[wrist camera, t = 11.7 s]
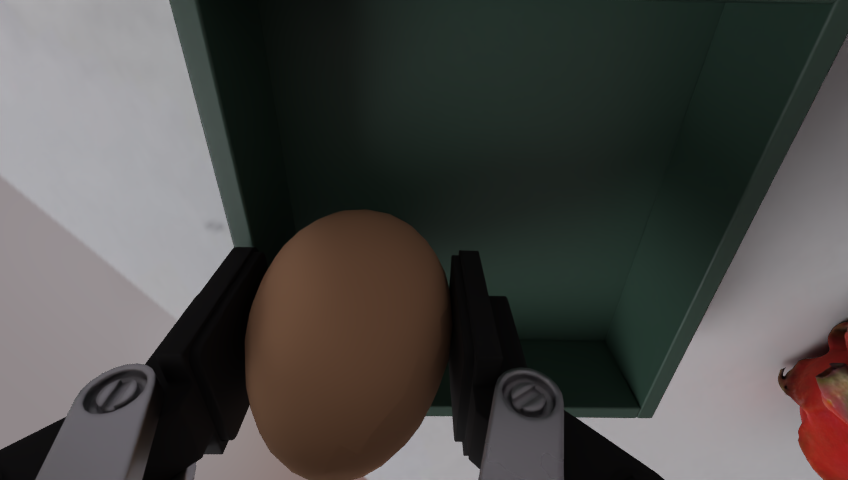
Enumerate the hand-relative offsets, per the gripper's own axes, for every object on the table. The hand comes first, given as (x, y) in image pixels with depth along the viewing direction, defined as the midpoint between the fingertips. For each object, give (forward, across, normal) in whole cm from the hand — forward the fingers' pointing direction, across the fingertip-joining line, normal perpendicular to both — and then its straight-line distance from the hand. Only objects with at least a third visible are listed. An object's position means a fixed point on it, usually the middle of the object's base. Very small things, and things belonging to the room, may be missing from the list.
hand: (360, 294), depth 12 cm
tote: (+4, -4, -1) cm, 6 cm away
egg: (+3, 0, 0) cm, 3 cm away
